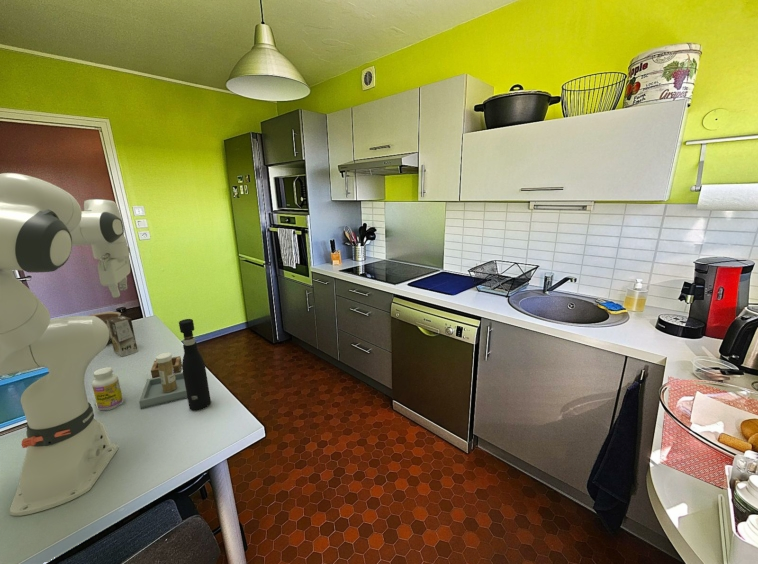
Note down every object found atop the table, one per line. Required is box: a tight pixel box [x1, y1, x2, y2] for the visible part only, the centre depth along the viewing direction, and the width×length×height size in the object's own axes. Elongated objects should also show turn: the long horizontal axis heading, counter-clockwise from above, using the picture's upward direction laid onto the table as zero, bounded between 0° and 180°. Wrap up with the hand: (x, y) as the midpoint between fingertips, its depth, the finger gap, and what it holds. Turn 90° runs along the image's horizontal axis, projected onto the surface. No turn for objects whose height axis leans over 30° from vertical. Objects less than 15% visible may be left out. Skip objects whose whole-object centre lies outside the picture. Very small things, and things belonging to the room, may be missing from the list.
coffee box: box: [107, 314, 139, 357], centre depth 145 cm, size 9×6×16 cm
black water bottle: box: [178, 318, 212, 412], centre depth 104 cm, size 6×6×30 cm
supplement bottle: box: [91, 366, 124, 411], centre depth 107 cm, size 7×7×13 cm
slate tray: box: [138, 371, 188, 410], centre depth 115 cm, size 15×15×3 cm
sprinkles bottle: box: [155, 352, 177, 392], centre depth 114 cm, size 5×5×13 cm
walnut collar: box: [150, 355, 183, 379], centre depth 128 cm, size 9×9×4 cm
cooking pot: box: [87, 311, 122, 343], centre depth 157 cm, size 25×19×12 cm
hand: (120, 293), depth 106 cm, fingers open, 8 cm apart
